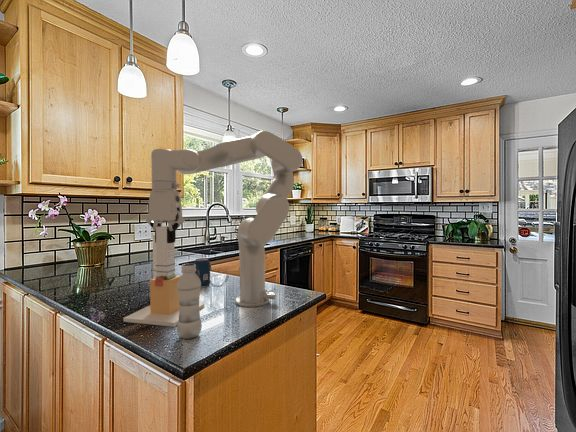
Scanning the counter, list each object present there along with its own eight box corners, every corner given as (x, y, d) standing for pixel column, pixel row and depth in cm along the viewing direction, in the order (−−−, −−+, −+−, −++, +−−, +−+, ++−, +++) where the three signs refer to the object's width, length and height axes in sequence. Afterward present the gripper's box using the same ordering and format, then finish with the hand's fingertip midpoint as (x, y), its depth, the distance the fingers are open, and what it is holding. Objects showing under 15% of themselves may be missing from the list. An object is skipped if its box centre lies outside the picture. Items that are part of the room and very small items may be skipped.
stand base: (204, 306, 108) (203, 270, 107) (174, 326, 90) (173, 283, 89) (160, 303, 112) (159, 268, 111) (123, 321, 94) (122, 280, 93)
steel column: (175, 290, 102) (174, 225, 101) (168, 294, 98) (166, 226, 97) (164, 289, 103) (163, 225, 102) (156, 293, 99) (155, 226, 98)
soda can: (192, 285, 137) (191, 259, 136) (206, 282, 141) (206, 257, 141) (198, 288, 131) (197, 261, 131) (212, 285, 136) (212, 259, 135)
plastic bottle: (172, 341, 80) (171, 267, 80) (184, 330, 87) (183, 262, 86) (194, 342, 79) (193, 267, 79) (205, 332, 86) (204, 262, 85)
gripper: (193, 187, 101) (194, 241, 102) (149, 188, 105) (150, 240, 105) (180, 186, 94) (181, 244, 94) (134, 187, 97) (135, 243, 98)
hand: (165, 241), depth 100 cm, fingers closed on steel column, 4 cm apart
